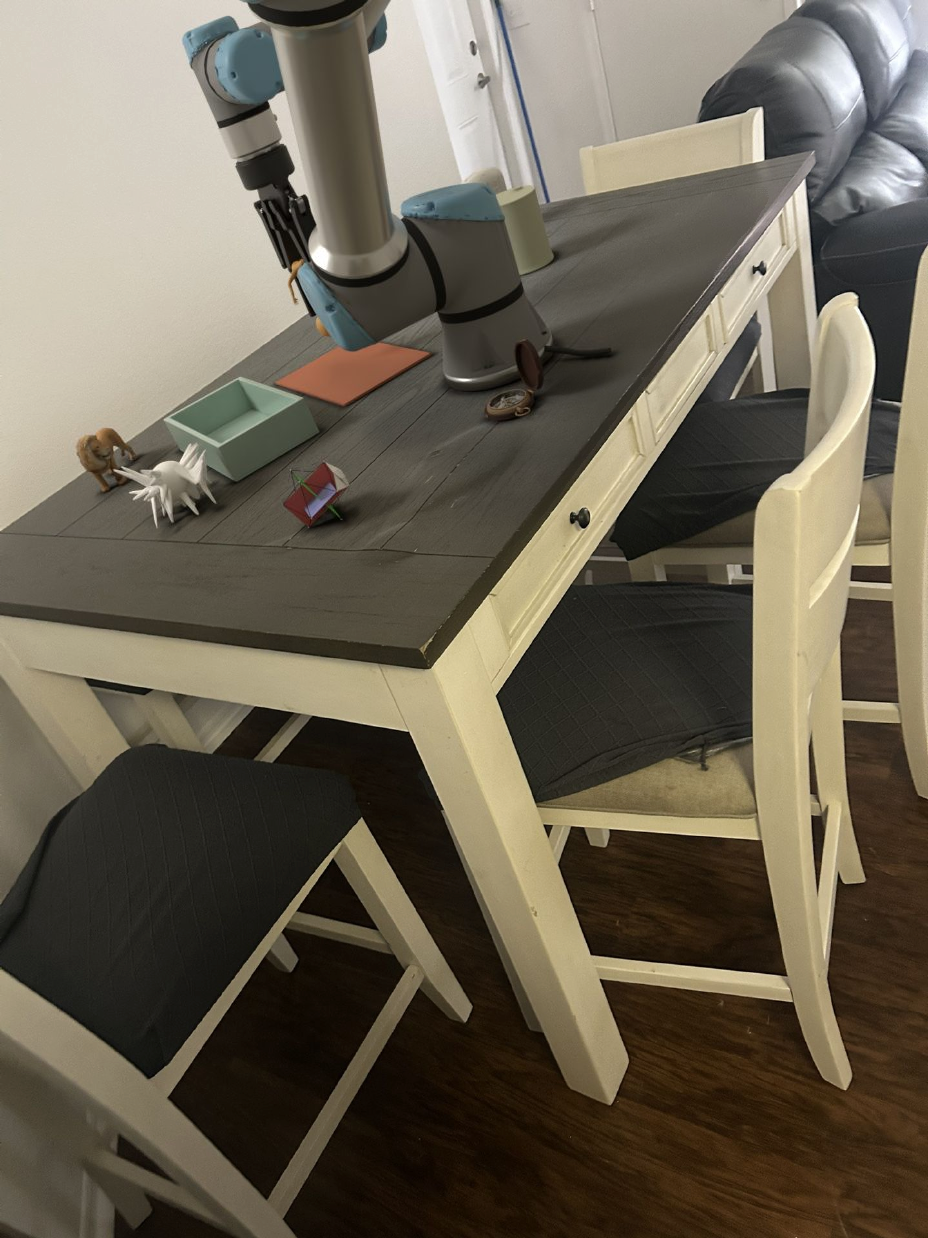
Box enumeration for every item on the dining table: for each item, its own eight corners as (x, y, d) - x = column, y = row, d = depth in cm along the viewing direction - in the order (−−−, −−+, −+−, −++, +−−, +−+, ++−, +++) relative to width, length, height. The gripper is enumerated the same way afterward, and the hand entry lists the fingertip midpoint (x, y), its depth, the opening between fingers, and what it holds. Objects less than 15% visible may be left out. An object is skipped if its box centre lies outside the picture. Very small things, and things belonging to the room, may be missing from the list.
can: (563, 250, 157) (544, 177, 150) (538, 273, 152) (517, 198, 145) (517, 257, 163) (497, 187, 156) (492, 279, 157) (470, 207, 150)
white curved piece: (505, 228, 181) (486, 161, 174) (521, 226, 178) (502, 159, 171) (469, 250, 177) (449, 183, 170) (485, 249, 173) (464, 181, 167)
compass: (478, 414, 115) (459, 360, 111) (533, 386, 116) (516, 332, 112) (504, 432, 109) (486, 375, 104) (562, 403, 110) (546, 345, 106)
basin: (319, 432, 128) (303, 397, 125) (236, 482, 123) (218, 447, 120) (255, 407, 145) (240, 376, 142) (180, 450, 140) (163, 419, 137)
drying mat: (431, 355, 138) (430, 352, 137) (344, 406, 132) (343, 404, 132) (355, 339, 156) (354, 337, 156) (276, 384, 150) (275, 382, 150)
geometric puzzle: (284, 534, 101) (300, 465, 98) (271, 512, 107) (285, 446, 104) (346, 543, 104) (363, 475, 101) (330, 521, 110) (346, 456, 107)
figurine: (325, 351, 139) (302, 277, 130) (296, 343, 142) (271, 270, 133) (359, 322, 143) (339, 248, 134) (330, 315, 146) (308, 242, 137)
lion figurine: (132, 489, 134) (99, 434, 129) (98, 503, 134) (63, 449, 129) (139, 451, 146) (109, 400, 141) (108, 464, 146) (77, 413, 141)
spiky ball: (229, 520, 117) (205, 460, 112) (136, 550, 116) (107, 491, 111) (223, 485, 126) (200, 428, 121) (137, 512, 125) (111, 457, 120)
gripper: (310, 136, 120) (375, 307, 133) (256, 144, 134) (320, 299, 147) (261, 159, 118) (333, 331, 131) (211, 164, 131) (281, 320, 144)
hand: (326, 313), depth 139 cm, fingers open, 5 cm apart
